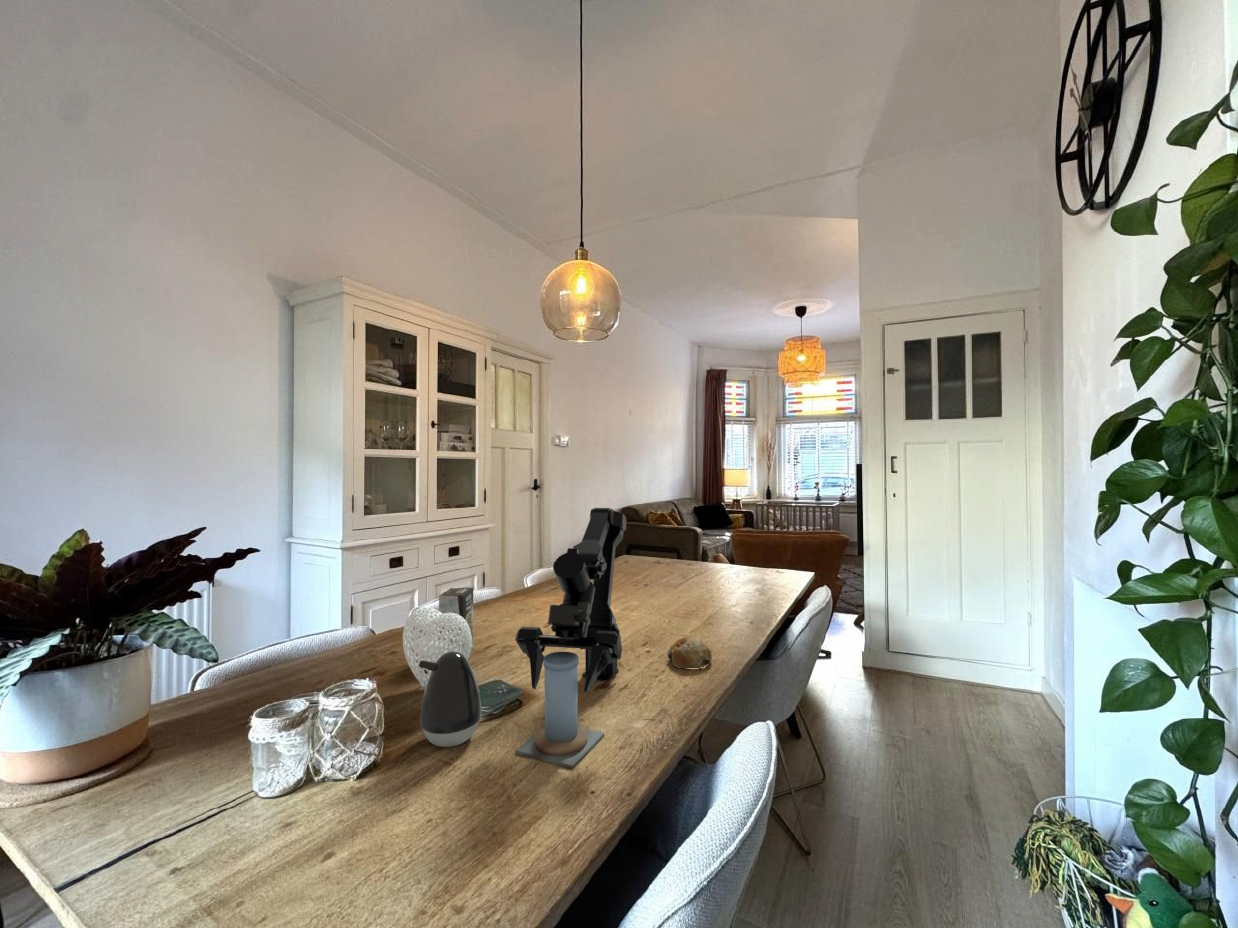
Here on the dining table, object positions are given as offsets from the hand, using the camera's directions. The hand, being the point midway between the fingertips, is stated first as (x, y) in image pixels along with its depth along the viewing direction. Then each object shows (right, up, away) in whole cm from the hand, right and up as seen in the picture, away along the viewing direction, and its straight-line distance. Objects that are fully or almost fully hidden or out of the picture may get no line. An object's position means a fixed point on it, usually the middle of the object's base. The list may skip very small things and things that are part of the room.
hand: (559, 690), depth 87 cm
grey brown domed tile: (0, -9, +1) cm, 10 cm away
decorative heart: (-29, -10, +22) cm, 38 cm away
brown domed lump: (+27, -10, +37) cm, 47 cm away
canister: (0, -8, +1) cm, 8 cm away
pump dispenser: (-19, -10, +3) cm, 22 cm away
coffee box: (-32, -11, +45) cm, 56 cm away
